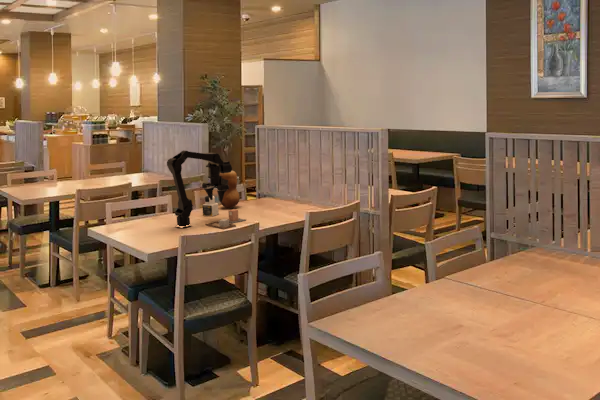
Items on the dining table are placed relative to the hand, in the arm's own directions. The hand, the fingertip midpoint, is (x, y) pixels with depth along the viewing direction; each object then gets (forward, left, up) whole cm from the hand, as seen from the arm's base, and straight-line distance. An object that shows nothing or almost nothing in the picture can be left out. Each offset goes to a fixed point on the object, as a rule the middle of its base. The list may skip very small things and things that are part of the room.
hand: (216, 200), depth 351 cm
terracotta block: (+5, -9, -11) cm, 15 cm away
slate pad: (+5, -9, -12) cm, 16 cm away
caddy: (-8, -13, -12) cm, 19 cm away
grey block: (-8, -16, -12) cm, 22 cm away
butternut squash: (+30, +26, -12) cm, 42 cm away
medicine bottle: (+8, +17, -12) cm, 22 cm away
